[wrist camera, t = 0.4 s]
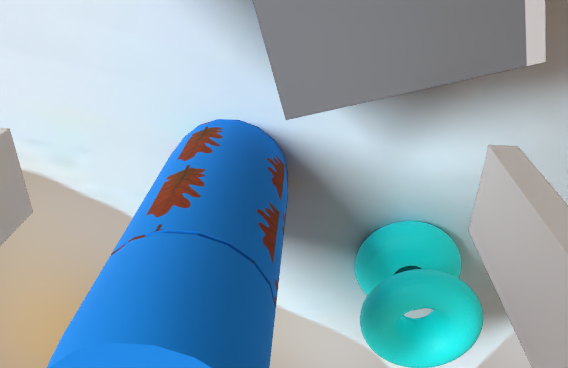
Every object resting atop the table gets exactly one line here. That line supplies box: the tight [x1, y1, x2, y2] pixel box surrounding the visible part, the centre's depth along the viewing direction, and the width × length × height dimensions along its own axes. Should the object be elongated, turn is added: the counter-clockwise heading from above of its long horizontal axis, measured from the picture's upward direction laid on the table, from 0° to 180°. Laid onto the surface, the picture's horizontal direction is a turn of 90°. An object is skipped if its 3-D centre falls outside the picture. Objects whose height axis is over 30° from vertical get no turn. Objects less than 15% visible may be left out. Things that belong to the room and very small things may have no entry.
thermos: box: [47, 119, 288, 368], centre depth 34 cm, size 11×11×25 cm
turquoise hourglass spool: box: [355, 221, 483, 368], centre depth 44 cm, size 10×10×10 cm
